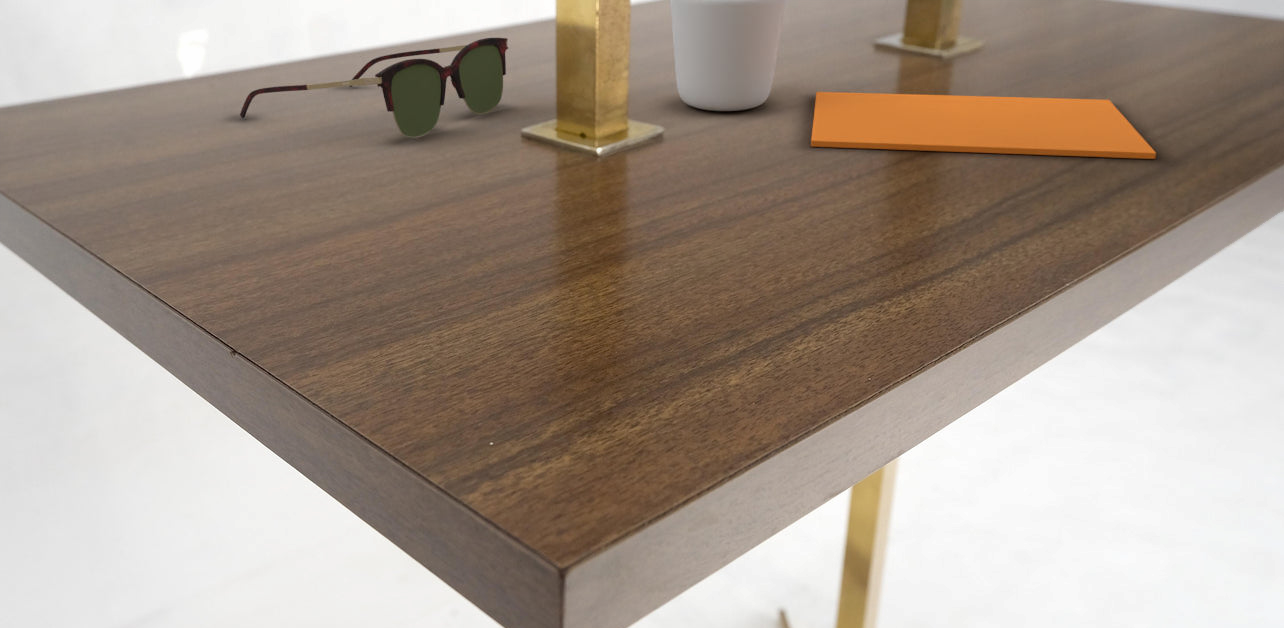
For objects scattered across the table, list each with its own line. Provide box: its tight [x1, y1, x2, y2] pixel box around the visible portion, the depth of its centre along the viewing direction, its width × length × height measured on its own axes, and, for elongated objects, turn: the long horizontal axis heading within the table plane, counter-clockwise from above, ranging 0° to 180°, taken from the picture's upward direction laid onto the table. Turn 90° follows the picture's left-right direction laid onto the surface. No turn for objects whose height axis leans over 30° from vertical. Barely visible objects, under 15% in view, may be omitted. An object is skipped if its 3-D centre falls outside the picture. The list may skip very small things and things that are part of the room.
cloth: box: [810, 91, 1157, 160], centre depth 77 cm, size 20×14×1 cm
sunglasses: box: [239, 37, 509, 138], centre depth 83 cm, size 14×15×5 cm
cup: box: [669, 0, 787, 112], centre depth 83 cm, size 11×8×8 cm
